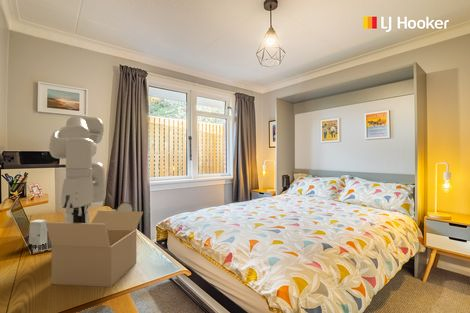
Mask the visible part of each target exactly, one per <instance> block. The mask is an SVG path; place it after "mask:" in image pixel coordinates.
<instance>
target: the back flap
mask: <svg viewBox="0 0 470 313" xmlns="http://www.w3.org/2000/svg"><path fill="white" fill-rule="evenodd" d="M143 213H144V211H134V210H133V211H108V210H97V212H96V214H95V216H94V218H93V219H92V220H91V221H90V223H100V224H106V227H107V229H125V230H136V231H137V228H138V225H139V223H140V221H141V218H142V216H143Z"/></svg>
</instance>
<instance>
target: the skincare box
mask: <svg viewBox="0 0 470 313" xmlns="http://www.w3.org/2000/svg"><path fill="white" fill-rule="evenodd" d="M46 222H49V221H48V220H47V219H34V220H31V221H29V230H28V233H29V234H28V236H29V237H28V245H29V244H33V245H42V244H44V245H46V244H48V230H47V226H46ZM45 243H46V244H45ZM42 246H43V245H42Z"/></svg>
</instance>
